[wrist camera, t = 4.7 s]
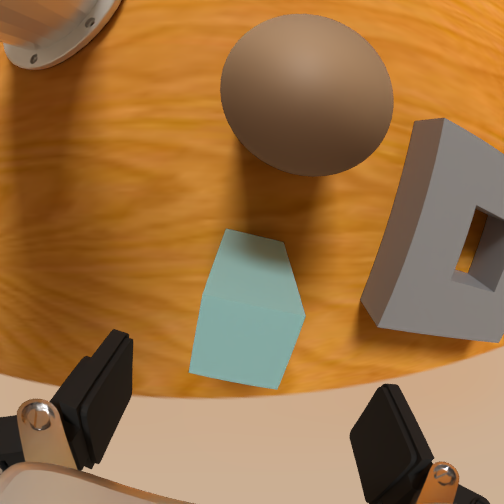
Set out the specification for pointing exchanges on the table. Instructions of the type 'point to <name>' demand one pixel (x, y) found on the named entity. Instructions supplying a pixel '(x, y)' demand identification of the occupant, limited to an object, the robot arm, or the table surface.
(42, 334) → the table surface
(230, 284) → the square peg
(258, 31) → the round plug
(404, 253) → the socket block
